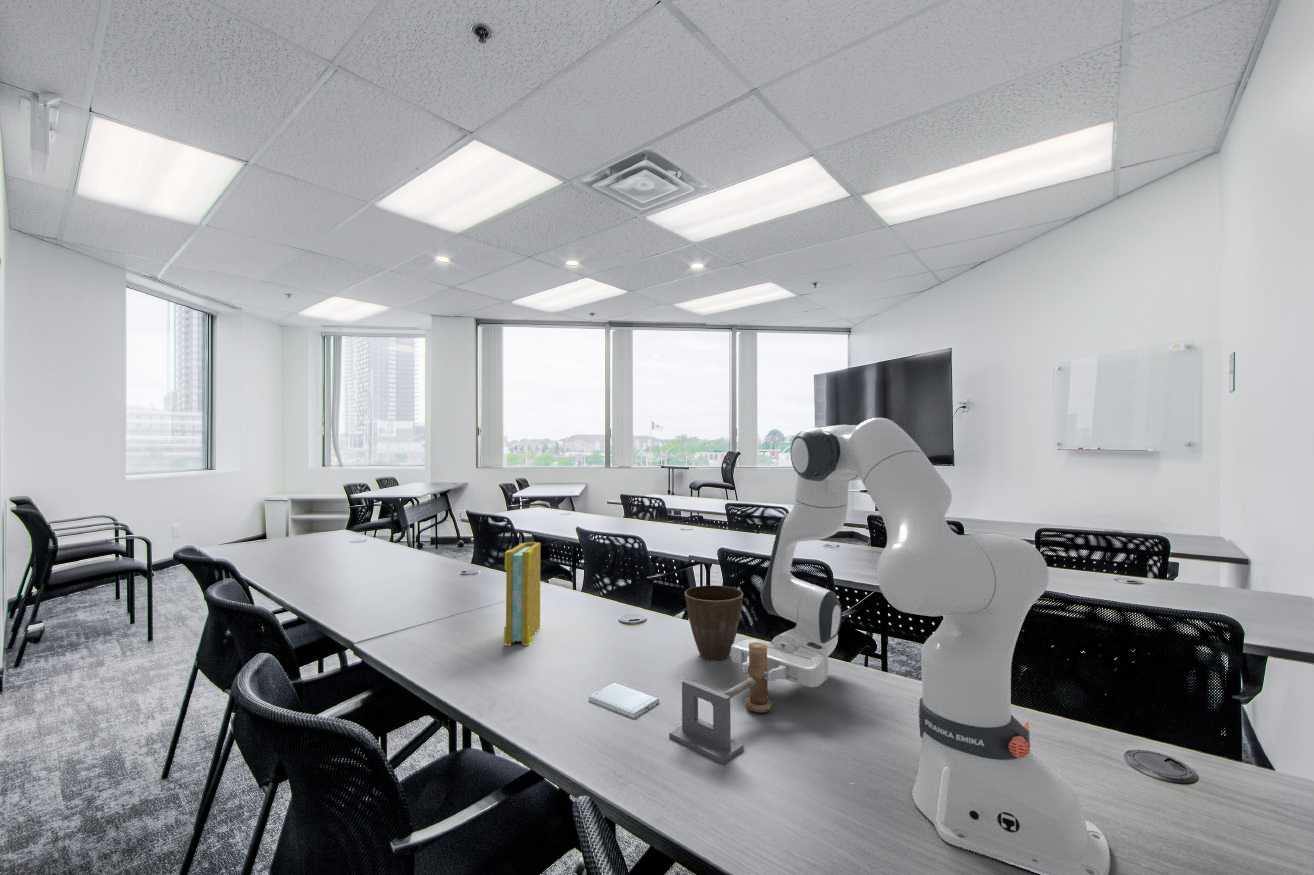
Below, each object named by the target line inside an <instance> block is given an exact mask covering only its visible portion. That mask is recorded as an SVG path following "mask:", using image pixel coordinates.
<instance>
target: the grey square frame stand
mask: <svg viewBox="0 0 1314 875" xmlns="http://www.w3.org/2000/svg"><path fill="white" fill-rule="evenodd" d="M723 693H724V692H720V691H717V690H715V689H712V688H710V687H707V686H704V685H702V684H699V683H697V682H694V681H691V680H689V679H684V680H682V681H681V726H678V727H677V728H675V729H674V730H671V731H670V732H668V733H669V734H668V736H669V737H668V738H670V739H672V740H674V741H676V742H678V743H680V744H682V745H684V746H685V747H688V748H690V749H692V750H694V751H696V752H698V753H699V754H701V755H703V756H705V757H707V758H709V759H711V758H712V760H713V761H715V762H717V763H719V764H722V765H724V764H725V763H726V762H729V760H731V759H732V758H734V757H735V756H737V755H738V754H739V753H741V752H742V751H744V748H745V747H744V744H742V743H740V742H738V741H737V740H734V739H732V737H731V729H732V728H731V727H732V725H731V698H730V696H728V695H725V694H723ZM699 699H701V700H703V701H705V702H708V703H710V704H711V703H713V706H712V714H713V715H712V720H713V721H712V722H713V723H712V724H711V723H709V722H708V721H705V720H703V719H701V718H699Z"/></svg>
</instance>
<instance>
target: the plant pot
mask: <svg viewBox="0 0 1314 875" xmlns="http://www.w3.org/2000/svg"><path fill="white" fill-rule="evenodd" d="M684 598H685V603H686V610H687V615H688V619H689V625H690V628H691V632H692V636H693V639H694V642H695V645H696V647H697V648H696V649H697V650H698V653H699V655H700V656H699V657H701V658H703V659H705V660H706V659H707V661H711V660H713V662H714V661H715V662H717V661H723V660H727V659H729V657H730V656H731V646H732V644H734V643H735V640H736V635H737V632H738V629H739V624H740V620H741V613H742V607H743V600H744V591H742V590H741V589H739V588H736V587H731V586H726V585H725V586H724V585H709V584H708V585H700V586H699V585H698V586H693V587H691V588H688V589H686V590H685V591H684Z"/></svg>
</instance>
